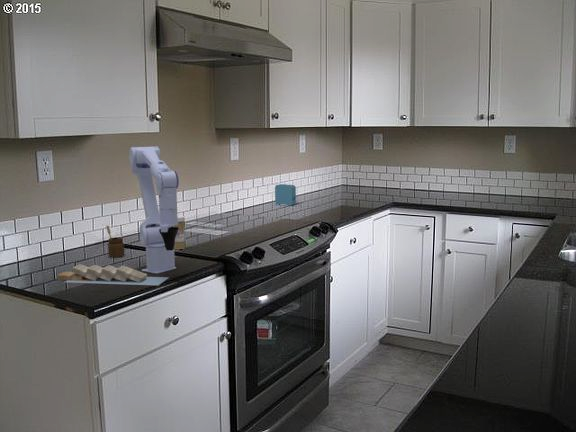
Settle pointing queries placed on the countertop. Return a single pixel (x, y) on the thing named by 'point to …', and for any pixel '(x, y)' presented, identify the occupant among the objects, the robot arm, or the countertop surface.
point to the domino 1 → (70, 276)
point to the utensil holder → (115, 245)
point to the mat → (130, 282)
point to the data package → (285, 194)
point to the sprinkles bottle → (180, 234)
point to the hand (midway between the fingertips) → (169, 250)
